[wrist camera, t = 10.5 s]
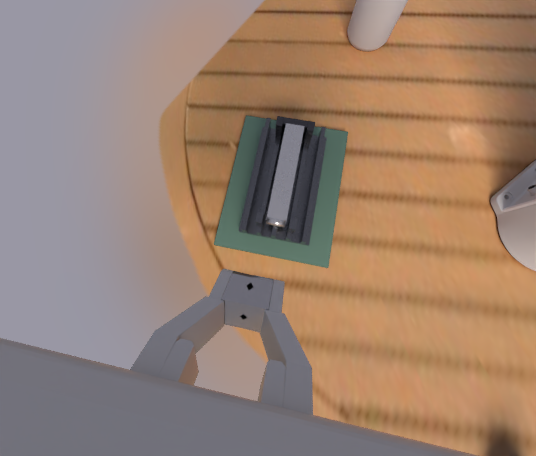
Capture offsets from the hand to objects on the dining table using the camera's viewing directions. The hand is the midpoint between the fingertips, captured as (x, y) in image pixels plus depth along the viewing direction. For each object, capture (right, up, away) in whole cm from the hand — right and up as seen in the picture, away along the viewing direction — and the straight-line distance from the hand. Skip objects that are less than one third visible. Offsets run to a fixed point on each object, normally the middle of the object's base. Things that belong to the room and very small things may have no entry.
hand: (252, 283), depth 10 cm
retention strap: (+3, +11, +22) cm, 25 cm away
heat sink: (+4, +10, +28) cm, 30 cm away
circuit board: (+4, +10, +28) cm, 30 cm away
